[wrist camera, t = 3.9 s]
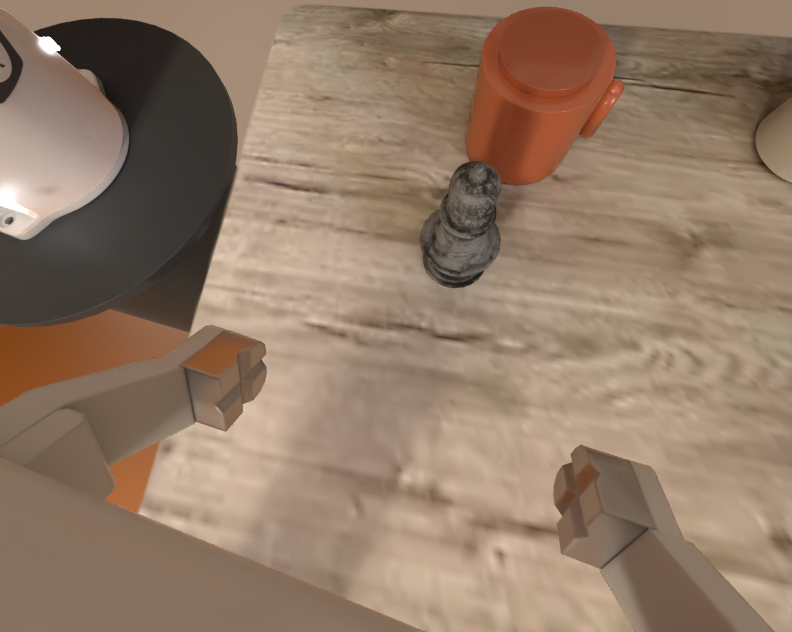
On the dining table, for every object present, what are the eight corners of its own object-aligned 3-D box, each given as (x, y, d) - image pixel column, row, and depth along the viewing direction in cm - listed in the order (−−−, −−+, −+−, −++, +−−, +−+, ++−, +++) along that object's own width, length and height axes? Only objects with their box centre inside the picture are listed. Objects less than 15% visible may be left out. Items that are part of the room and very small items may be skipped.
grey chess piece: (441, 303, 28) (460, 237, 17) (407, 245, 30) (402, 145, 18) (503, 270, 29) (564, 182, 17) (467, 214, 30) (500, 97, 18)
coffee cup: (459, 179, 31) (476, 97, 23) (470, 95, 33) (490, -8, 25) (581, 192, 30) (646, 113, 22) (585, 106, 32) (646, 2, 24)
